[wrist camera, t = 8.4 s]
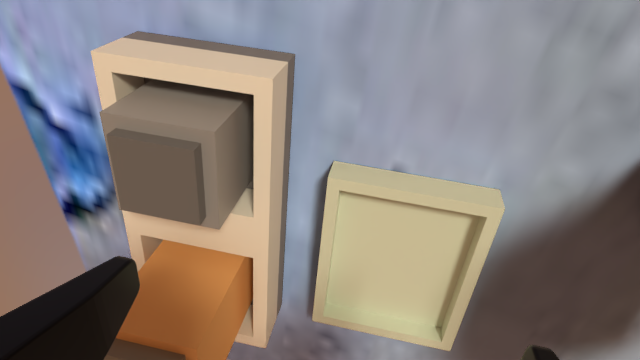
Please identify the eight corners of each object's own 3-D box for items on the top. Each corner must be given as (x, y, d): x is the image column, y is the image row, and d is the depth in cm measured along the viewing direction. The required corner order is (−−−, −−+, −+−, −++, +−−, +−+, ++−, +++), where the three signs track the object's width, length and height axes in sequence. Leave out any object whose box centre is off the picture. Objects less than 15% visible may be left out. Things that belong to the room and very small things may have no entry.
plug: (253, 296, 26) (195, 428, 20) (183, 280, 27) (103, 404, 20) (254, 238, 24) (187, 366, 17) (176, 223, 24) (83, 341, 18)
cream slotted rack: (295, 53, 19) (248, 105, 14) (281, 303, 28) (250, 391, 23) (137, 31, 20) (41, 71, 15) (171, 279, 29) (117, 359, 24)
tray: (499, 189, 21) (505, 208, 19) (448, 328, 26) (450, 351, 25) (333, 160, 22) (327, 177, 20) (317, 300, 27) (311, 320, 26)
